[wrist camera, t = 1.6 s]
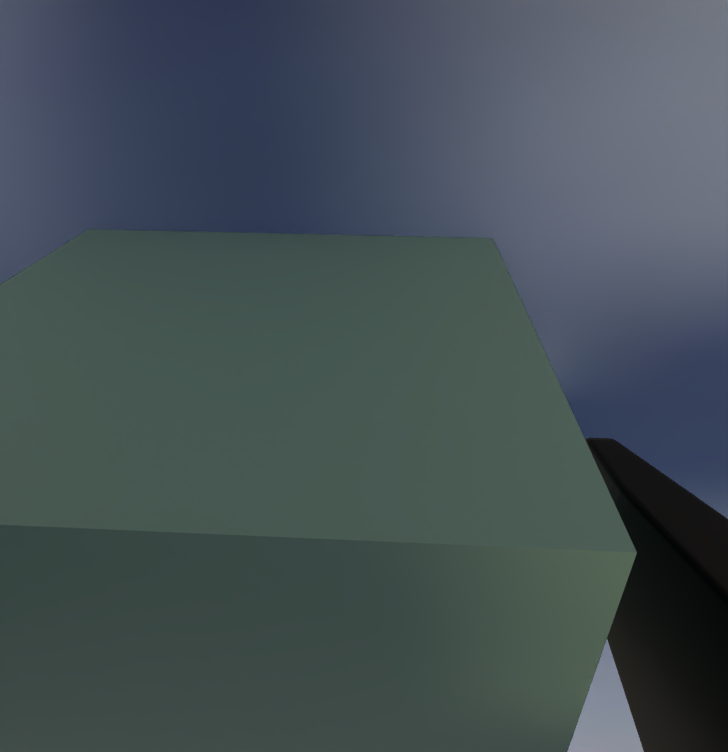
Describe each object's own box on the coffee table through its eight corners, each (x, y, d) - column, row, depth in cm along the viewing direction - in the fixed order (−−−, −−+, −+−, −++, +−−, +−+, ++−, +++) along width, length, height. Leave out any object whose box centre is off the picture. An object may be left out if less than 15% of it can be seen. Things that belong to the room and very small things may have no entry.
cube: (491, 236, 8) (636, 552, 3) (456, 532, 12) (502, 935, 6) (90, 227, 9) (-358, 509, 4) (159, 519, 12) (-27, 899, 7)
